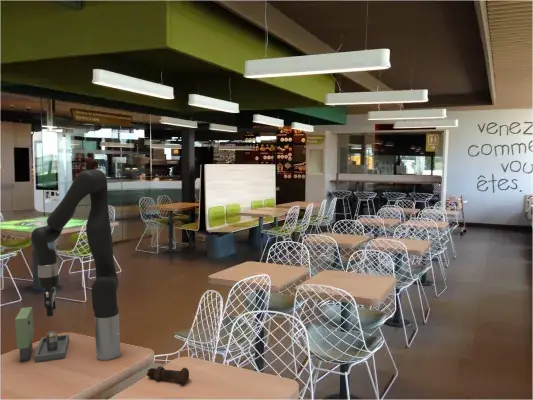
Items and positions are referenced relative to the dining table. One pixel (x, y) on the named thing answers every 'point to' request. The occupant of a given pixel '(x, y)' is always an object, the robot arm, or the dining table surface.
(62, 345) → the parts tray
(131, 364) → the dining table surface
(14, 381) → the dining table surface
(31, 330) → the control unit
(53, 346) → the pin
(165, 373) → the bolt
